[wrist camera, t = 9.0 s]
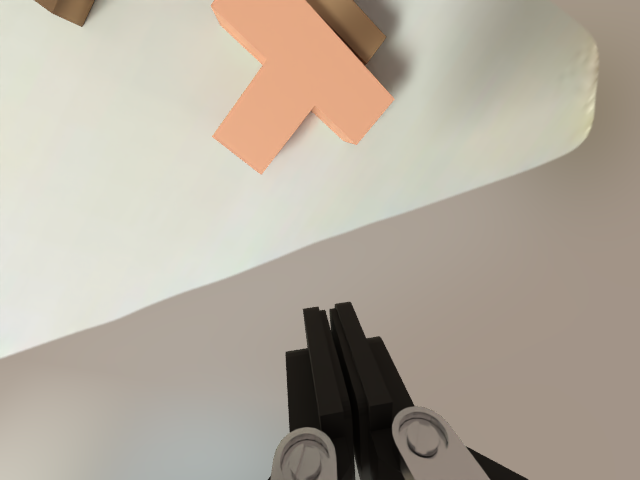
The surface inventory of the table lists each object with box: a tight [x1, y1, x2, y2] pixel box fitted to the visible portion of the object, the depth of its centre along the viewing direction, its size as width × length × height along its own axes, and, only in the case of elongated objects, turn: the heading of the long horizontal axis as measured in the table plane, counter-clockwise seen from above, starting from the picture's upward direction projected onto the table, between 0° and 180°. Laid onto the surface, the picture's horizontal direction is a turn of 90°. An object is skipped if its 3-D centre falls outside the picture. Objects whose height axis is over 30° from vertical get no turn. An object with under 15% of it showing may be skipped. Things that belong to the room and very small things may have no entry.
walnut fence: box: [35, 0, 386, 65], centre depth 20 cm, size 18×12×3 cm, turn 52°
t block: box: [211, 0, 394, 174], centre depth 21 cm, size 12×10×4 cm
